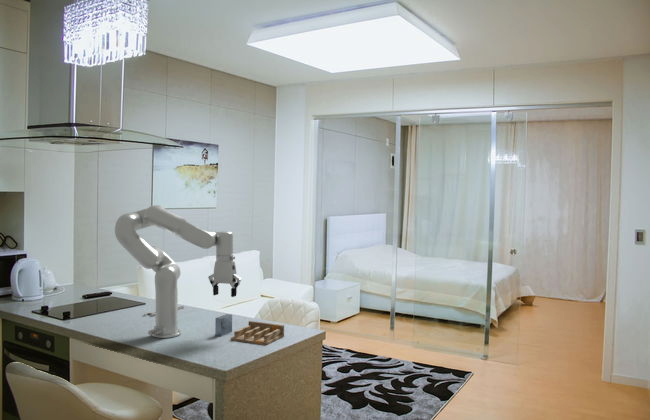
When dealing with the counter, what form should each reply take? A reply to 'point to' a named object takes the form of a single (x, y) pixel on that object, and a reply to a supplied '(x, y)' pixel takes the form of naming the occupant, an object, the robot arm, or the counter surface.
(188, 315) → the counter surface
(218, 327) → the block
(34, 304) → the counter surface
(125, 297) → the counter surface
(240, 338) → the rack
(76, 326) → the counter surface
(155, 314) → the adjustable wrench
